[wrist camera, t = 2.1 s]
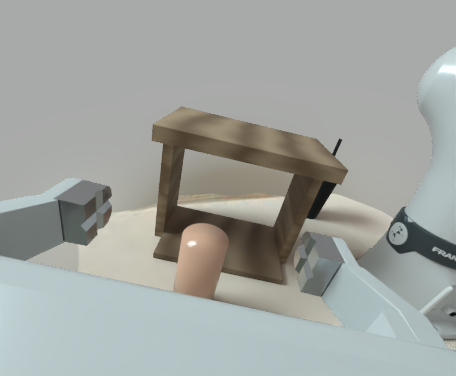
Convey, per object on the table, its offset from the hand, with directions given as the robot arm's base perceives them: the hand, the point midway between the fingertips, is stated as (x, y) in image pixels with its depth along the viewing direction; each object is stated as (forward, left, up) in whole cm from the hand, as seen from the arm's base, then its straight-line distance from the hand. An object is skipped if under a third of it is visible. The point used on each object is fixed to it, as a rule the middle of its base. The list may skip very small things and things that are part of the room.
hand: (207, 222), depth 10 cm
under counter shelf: (-3, -26, -23) cm, 35 cm away
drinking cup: (-24, -44, -23) cm, 55 cm away
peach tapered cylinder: (0, -12, -23) cm, 26 cm away
